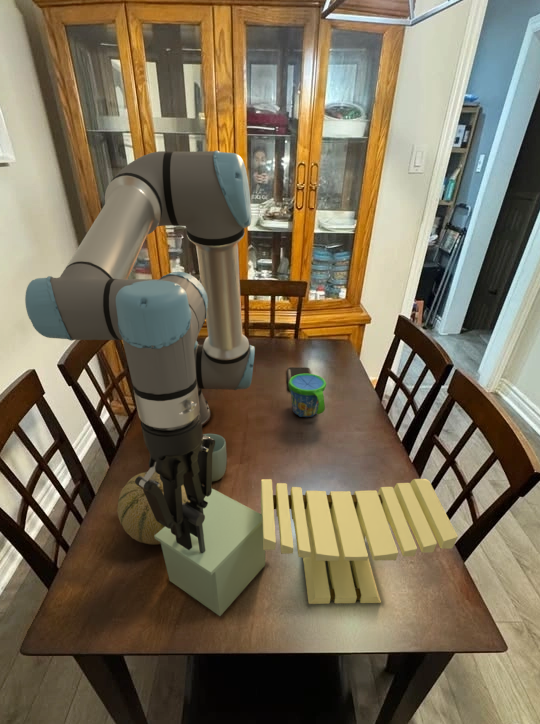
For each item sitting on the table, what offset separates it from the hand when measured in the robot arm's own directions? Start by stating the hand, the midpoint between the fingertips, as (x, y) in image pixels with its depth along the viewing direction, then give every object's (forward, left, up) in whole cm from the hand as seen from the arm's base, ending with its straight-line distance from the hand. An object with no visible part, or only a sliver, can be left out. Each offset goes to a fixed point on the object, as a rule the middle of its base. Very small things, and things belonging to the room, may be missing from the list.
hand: (190, 539), depth 67 cm
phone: (-29, +81, -15) cm, 88 cm away
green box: (0, +5, -15) cm, 16 cm away
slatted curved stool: (+18, +20, -15) cm, 31 cm away
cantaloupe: (-17, +6, -15) cm, 23 cm away
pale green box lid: (0, +5, -2) cm, 5 cm away
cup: (-20, +26, -15) cm, 36 cm away
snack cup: (-17, +65, -15) cm, 69 cm away
